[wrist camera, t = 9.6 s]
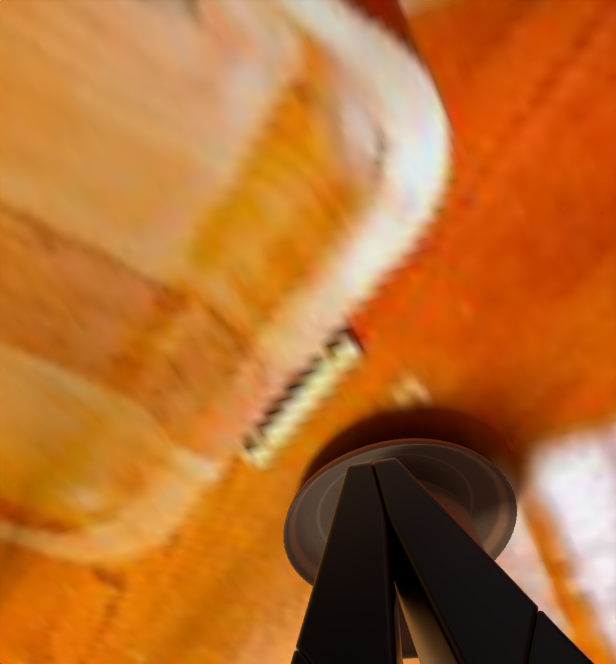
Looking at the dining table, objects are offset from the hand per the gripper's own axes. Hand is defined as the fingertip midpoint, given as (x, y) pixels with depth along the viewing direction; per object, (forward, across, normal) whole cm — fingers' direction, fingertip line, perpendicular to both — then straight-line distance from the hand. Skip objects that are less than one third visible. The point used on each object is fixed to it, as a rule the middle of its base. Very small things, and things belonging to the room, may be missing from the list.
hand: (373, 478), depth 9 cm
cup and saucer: (+13, -2, +16) cm, 21 cm away
